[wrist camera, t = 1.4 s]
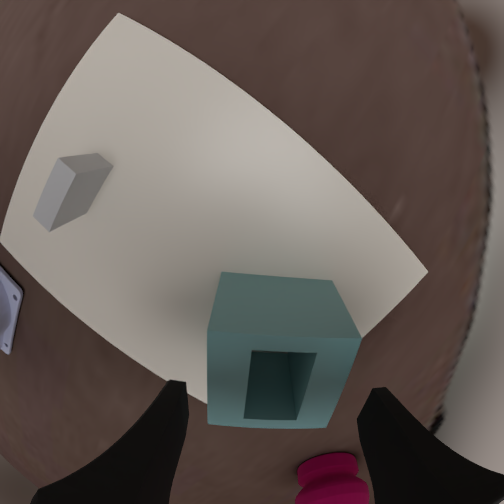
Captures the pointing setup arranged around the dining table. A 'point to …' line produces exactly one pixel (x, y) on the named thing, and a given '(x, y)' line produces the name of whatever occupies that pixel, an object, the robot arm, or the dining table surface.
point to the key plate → (185, 205)
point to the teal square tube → (282, 340)
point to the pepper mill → (331, 481)
